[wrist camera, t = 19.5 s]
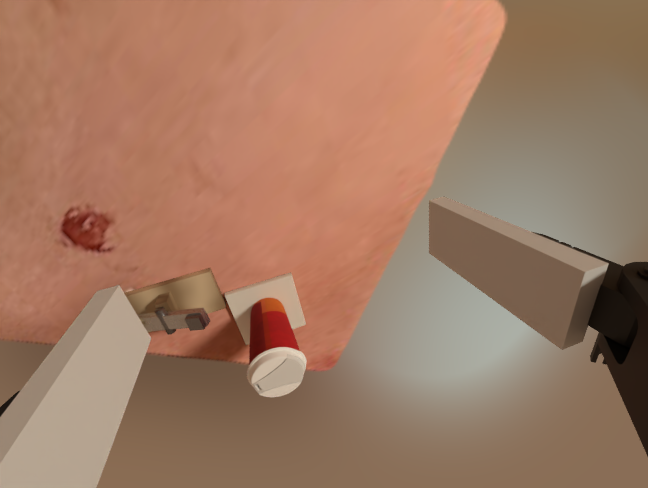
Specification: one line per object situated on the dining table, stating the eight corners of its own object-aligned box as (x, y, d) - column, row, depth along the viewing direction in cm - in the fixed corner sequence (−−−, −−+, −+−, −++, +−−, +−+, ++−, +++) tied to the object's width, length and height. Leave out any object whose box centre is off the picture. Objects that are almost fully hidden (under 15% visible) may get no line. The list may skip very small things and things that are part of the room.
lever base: (135, 332, 45) (127, 350, 41) (111, 296, 41) (101, 312, 38) (225, 303, 47) (225, 318, 44) (210, 267, 44) (208, 280, 40)
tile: (245, 342, 51) (246, 345, 50) (224, 292, 46) (224, 295, 45) (305, 321, 53) (306, 324, 52) (290, 272, 48) (291, 274, 47)
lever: (135, 331, 42) (127, 341, 41) (122, 310, 40) (112, 320, 39) (212, 324, 40) (206, 334, 39) (201, 302, 39) (195, 312, 37)
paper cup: (255, 336, 50) (262, 408, 38) (235, 304, 46) (236, 373, 34) (297, 317, 51) (317, 382, 39) (280, 284, 47) (296, 344, 35)
